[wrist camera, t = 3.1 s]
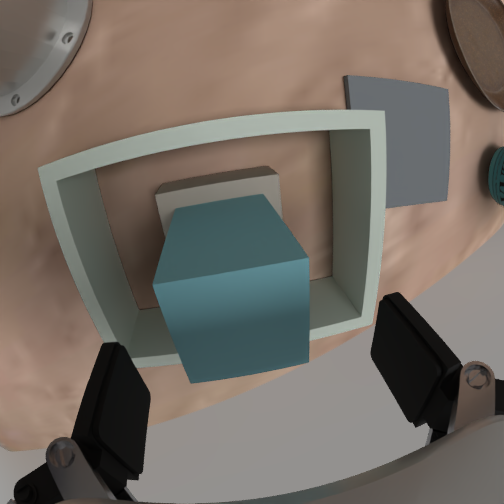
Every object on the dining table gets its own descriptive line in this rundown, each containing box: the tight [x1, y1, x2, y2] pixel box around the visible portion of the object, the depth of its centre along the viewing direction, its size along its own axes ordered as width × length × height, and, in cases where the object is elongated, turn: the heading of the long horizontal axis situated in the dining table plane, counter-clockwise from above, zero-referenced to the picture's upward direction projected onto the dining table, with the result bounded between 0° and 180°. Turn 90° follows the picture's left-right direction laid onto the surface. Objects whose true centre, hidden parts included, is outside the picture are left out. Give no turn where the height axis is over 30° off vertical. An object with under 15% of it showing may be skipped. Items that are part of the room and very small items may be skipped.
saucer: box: [446, 0, 504, 112], centre depth 14 cm, size 15×15×3 cm
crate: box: [38, 110, 386, 368], centre depth 17 cm, size 14×18×6 cm
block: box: [153, 194, 310, 383], centre depth 14 cm, size 5×5×8 cm
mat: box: [344, 75, 450, 208], centre depth 19 cm, size 10×10×1 cm
